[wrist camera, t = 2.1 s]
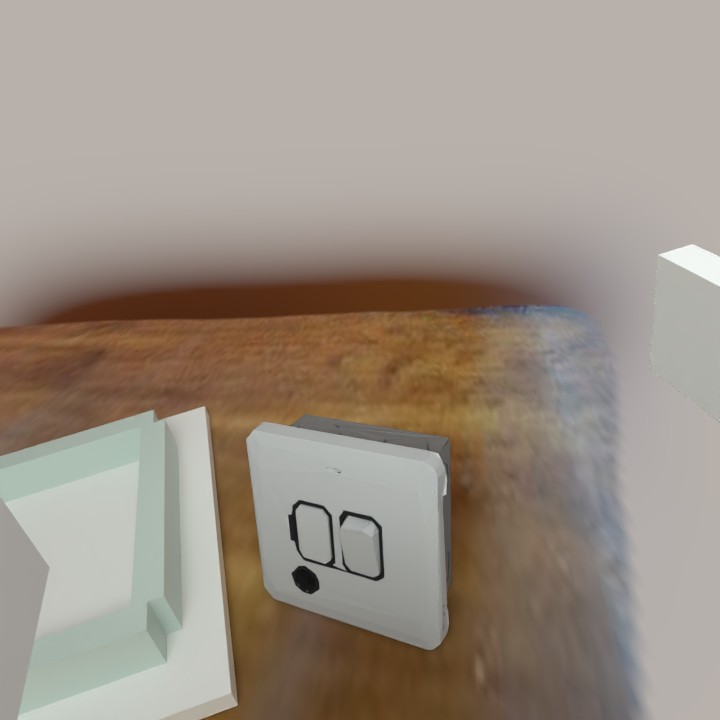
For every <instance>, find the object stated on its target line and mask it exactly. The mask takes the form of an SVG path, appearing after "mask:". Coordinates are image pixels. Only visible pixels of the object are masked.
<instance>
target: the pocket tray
mask: <svg viewBox="0 0 720 720" xmlns="http://www.w3.org/2000/svg"><path fill="white" fill-rule="evenodd" d="M0 497H1V498H2V500H3V501H4V503H5V504H6V506H7V507H8V508H9V510H10V511H11V513H12V514H13V516H14V517H15V518H16V520H17V521H18V523H19V524H20V526H21V527H22V529H23V530H24V531H25V533H26V534H27V536H28V537H29V539H30V540H31V541H32V543H33V544H34V546H35V547H36V549H37V550H38V552H39V553H40V554H41V556H42V557H43V559H44V560H45V562H46V563H47V564H48V566H49V567H50V568H49V573H48V578H47V582H46V587H45V592H44V597H43V601H42V606H41V611H40V615H39V620H38V625H37V630H36V634H35V639H34V644H33V649H32V653H31V658H30V663H29V667H28V672H27V677H26V682H25V686H24V691H23V696H22V701H21V705H20V710H19V715H18V719H17V720H200V719H203V718H206V717H208V716H211V715H214V714H216V713H219V712H222V711H224V710H227V709H230V708H233V707H235V706H238V700H237V690H236V680H235V670H234V660H233V650H232V640H231V629H230V619H229V609H228V599H227V589H226V579H225V569H224V559H223V549H222V539H221V529H220V519H219V509H218V499H217V489H216V479H215V469H214V459H213V449H212V439H211V429H210V419H209V415H208V413H207V410H206V408H205V406H204V407H201V408H197V409H194V410H191V411H188V412H184V413H181V414H178V415H174V416H171V417H168V418H165V419H161V420H158V418H157V416H156V414H155V411H154V410H151V411H148V412H145V413H141V414H138V415H135V416H131V417H128V418H125V419H122V420H118V421H115V422H112V423H108V424H105V425H102V426H98V427H95V428H92V429H89V430H85V431H82V432H79V433H75V434H72V435H69V436H65V437H62V438H59V439H56V440H52V441H49V442H46V443H42V444H39V445H36V446H32V447H29V448H26V449H23V450H19V451H16V452H13V453H9V454H6V455H3V456H0Z"/></svg>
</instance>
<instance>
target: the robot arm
mask: <svg viewBox="0 0 720 720" xmlns="http://www.w3.org/2000/svg"><path fill="white" fill-rule="evenodd" d="M650 370H651V371H653V372H654V373H655V374H657V375H658V376H659V377H661V378H662V379H663V380H665V381H666V382H667V383H669V384H670V385H671V386H672V387H674V388H675V389H677V390H678V391H679V392H680V393H682V394H683V395H684V396H686V397H687V398H688V399H690V400H691V401H692V402H693V403H695V404H696V405H697V406H699V407H700V408H701V409H703V410H704V411H705V412H707V413H708V414H709V415H711V416H712V417H713V418H714V419H716V420H717V421H718V422H720V257H719V256H717V255H715V254H712V253H710V252H708V251H706V250H704V249H702V248H699V247H697V246H695V245H693V244H692V245H688V246H685V247H682V248H679V249H675V250H672V251H669V252H665V253H662V254H659V255H658V264H657V278H656V290H655V304H654V318H653V330H652V344H651V357H650ZM49 568H50V567H49V566H48V564H47V563H46V562H45V560H44V559H43V557H42V556H41V554H40V553H39V552H38V550H37V549H36V547H35V546H34V544H33V543H32V541H31V540H30V539H29V537H28V536H27V534H26V533H25V531H24V530H23V529H22V527H21V526H20V524H19V523H18V521H17V520H16V518H15V517H14V516H13V514H12V513H11V511H10V510H9V508H8V507H7V506H6V504H5V503H4V501H3V500H2V498H1V497H0V720H17V719H18V715H19V710H20V705H21V701H22V696H23V691H24V686H25V682H26V677H27V672H28V667H29V663H30V658H31V653H32V649H33V644H34V639H35V634H36V630H37V625H38V620H39V615H40V611H41V606H42V601H43V597H44V592H45V587H46V582H47V578H48V573H49Z"/></svg>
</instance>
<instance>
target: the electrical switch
mask: <svg viewBox="0 0 720 720" xmlns="http://www.w3.org/2000/svg"><path fill="white" fill-rule="evenodd" d="M414 437H415V438H414ZM385 441H386V442H385ZM448 441H449V438H447V437H441V436H435V435H428V434H422V433H416V432H410V431H404V430H398V429H392V428H385V427H379V426H373V425H367V424H361V423H355V422H349V421H342V420H336V419H330V418H324V417H318V416H312V415H306V414H305V415H304V416H303V417H301V418H300V419H299V420H297V421H296V422H295V423H294V424H292V425H290V426H285V425H280V424H274V423H269V422H262V423H261V424H260V425H259V426H257V427H256V428H255V429H254V430H253V431H252V433H251V434H250V435H249V436H248V438H247V439H246V442H247V450H248V458H249V466H250V474H251V482H252V491H253V499H254V507H255V515H256V523H257V531H258V539H259V547H260V555H261V563H262V571H263V579H264V587H265V588H266V590H267V591H268V592H269V594H270V595H271V596H272V597H273V598H274V599H276V600H278V601H281V602H284V603H287V604H290V605H293V606H296V607H299V608H302V609H305V610H308V611H311V612H314V613H317V614H320V615H323V616H326V617H329V618H332V619H335V620H338V621H341V622H344V623H347V624H350V625H353V626H356V627H359V628H362V629H365V630H368V631H371V632H374V633H377V634H381V635H384V636H387V637H390V638H393V639H396V640H399V641H402V642H405V643H408V644H411V645H414V646H417V647H420V648H423V649H426V650H433V649H435V648H436V647H437V646H439V645H440V644H441V643H442V641H443V639H444V638H445V636H446V634H447V632H448V626H449V617H448V609H447V590H448V588H449V586H450V585H451V583H452V559H451V466H450V441H449V442H448ZM447 442H448V443H447ZM446 443H447V444H446ZM428 445H429V448H428ZM445 445H446V446H445ZM444 446H445V447H444ZM443 447H444V448H443ZM442 448H443V449H442ZM441 449H442V450H441Z"/></svg>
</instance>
